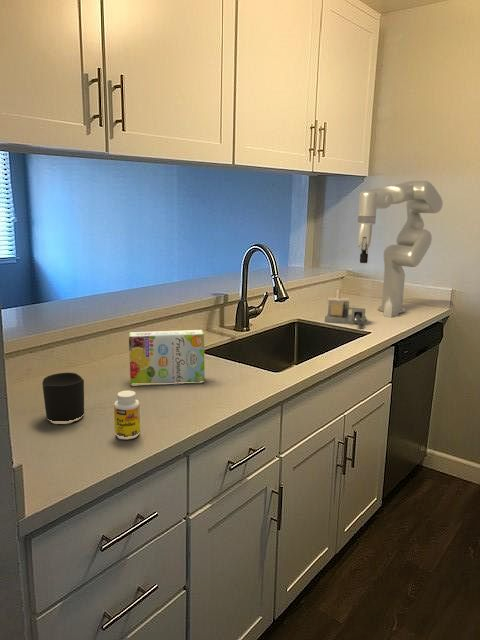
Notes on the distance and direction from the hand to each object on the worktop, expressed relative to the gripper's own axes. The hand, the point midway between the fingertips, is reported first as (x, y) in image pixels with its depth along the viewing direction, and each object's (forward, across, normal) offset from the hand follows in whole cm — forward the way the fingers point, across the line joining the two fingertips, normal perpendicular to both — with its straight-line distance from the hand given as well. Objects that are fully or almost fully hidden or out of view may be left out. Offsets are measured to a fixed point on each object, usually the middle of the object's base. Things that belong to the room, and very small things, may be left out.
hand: (363, 262), depth 232 cm
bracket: (+25, +7, -6) cm, 27 cm away
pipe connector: (+25, -14, -12) cm, 31 cm away
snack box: (+25, +104, -48) cm, 117 cm away
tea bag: (+25, -10, +14) cm, 30 cm away
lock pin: (+23, +15, 0) cm, 28 cm away
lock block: (+24, +7, -9) cm, 26 cm away
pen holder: (+25, +135, -60) cm, 150 cm away
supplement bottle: (+25, +139, -42) cm, 147 cm away
